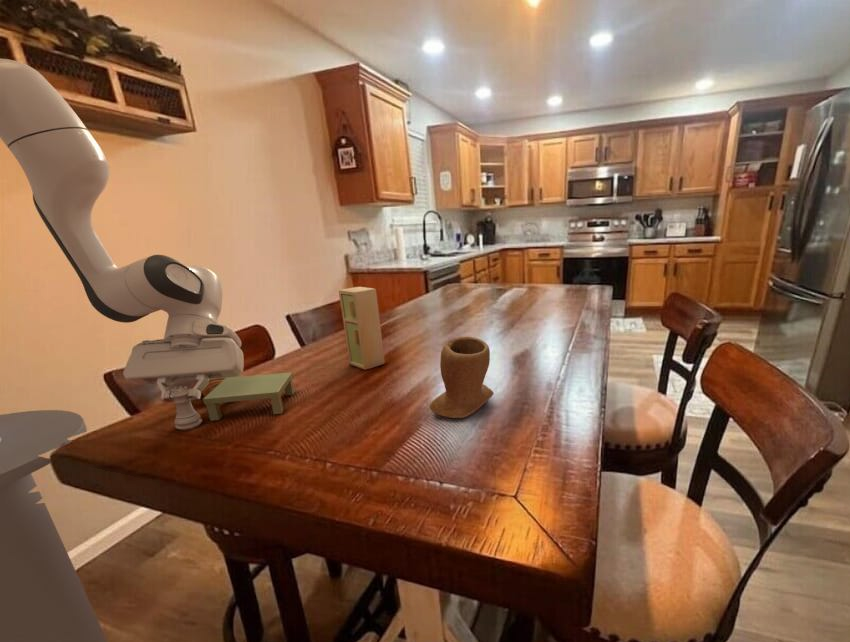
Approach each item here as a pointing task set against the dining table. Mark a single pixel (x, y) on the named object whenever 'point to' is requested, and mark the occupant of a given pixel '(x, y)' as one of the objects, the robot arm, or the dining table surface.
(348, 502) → the dining table surface
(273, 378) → the green miniature table
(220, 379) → the pastry
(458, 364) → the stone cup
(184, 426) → the rook chess piece
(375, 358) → the toy refrigerator
